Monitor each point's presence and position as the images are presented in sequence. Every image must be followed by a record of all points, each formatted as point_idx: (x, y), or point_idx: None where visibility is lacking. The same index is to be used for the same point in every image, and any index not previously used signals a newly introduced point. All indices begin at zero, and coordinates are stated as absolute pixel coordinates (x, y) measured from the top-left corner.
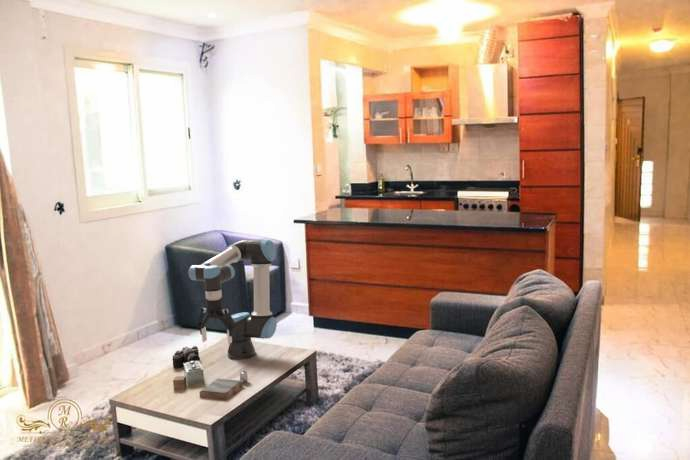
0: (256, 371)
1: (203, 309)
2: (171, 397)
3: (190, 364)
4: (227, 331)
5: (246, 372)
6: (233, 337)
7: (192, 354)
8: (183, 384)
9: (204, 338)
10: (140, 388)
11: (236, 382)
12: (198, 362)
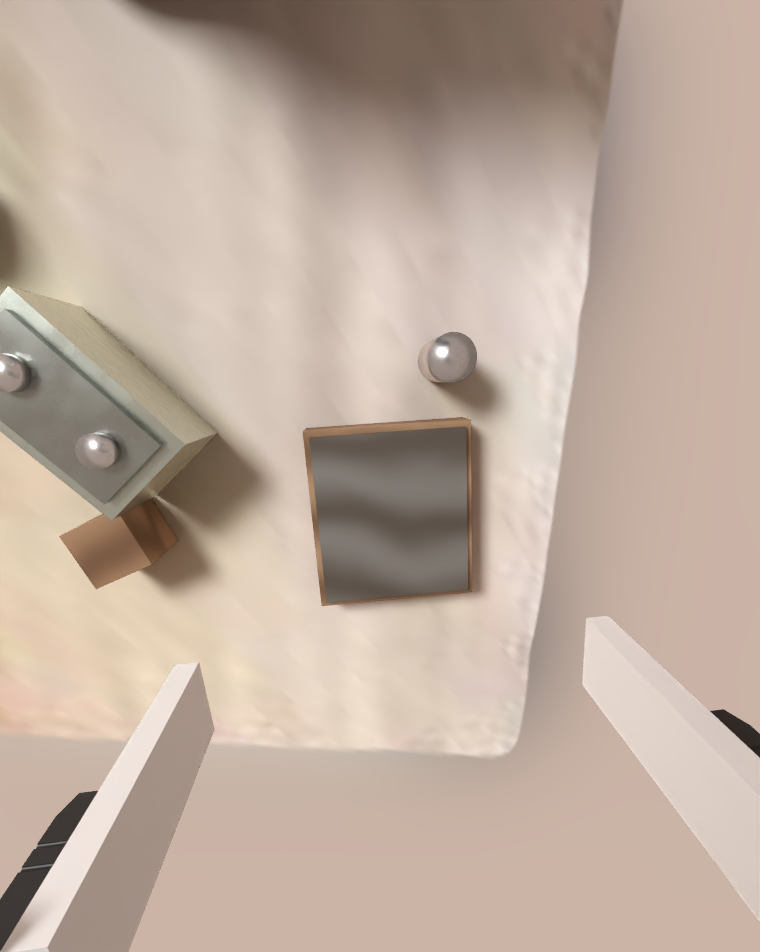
0: (426, 167)
1: None
2: (193, 635)
3: (26, 406)
4: (755, 901)
5: (472, 350)
6: None
7: None
8: (164, 552)
9: (193, 754)
10: None
11: (453, 457)
12: (36, 326)
